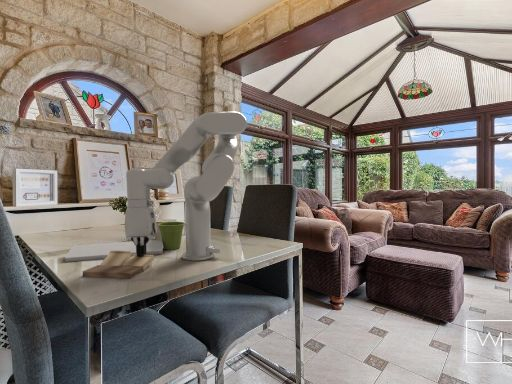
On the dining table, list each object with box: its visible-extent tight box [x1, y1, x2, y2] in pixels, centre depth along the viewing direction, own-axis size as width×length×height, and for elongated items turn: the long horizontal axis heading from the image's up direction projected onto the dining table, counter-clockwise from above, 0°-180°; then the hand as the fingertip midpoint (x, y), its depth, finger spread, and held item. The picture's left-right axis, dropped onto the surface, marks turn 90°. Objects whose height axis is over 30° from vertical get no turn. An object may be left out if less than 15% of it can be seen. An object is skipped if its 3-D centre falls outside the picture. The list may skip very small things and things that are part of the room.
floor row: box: [82, 264, 145, 279], centre depth 87 cm, size 16×8×2 cm, turn 83°
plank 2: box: [122, 254, 155, 271], centre depth 94 cm, size 8×7×2 cm
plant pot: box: [157, 221, 186, 251], centre depth 122 cm, size 12×12×11 cm
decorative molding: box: [64, 239, 164, 263], centre depth 111 cm, size 34×5×10 cm
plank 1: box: [99, 251, 132, 266], centre depth 94 cm, size 8×7×2 cm
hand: (141, 255), depth 96 cm, fingers closed
